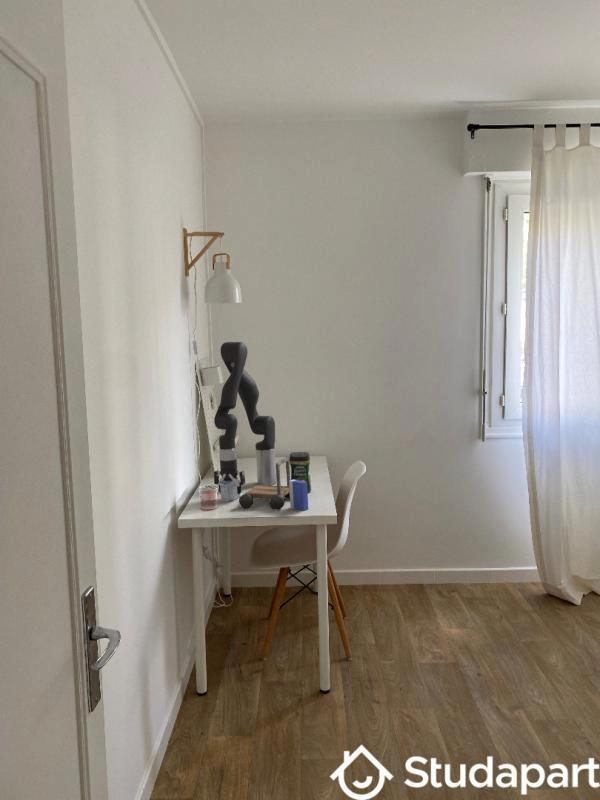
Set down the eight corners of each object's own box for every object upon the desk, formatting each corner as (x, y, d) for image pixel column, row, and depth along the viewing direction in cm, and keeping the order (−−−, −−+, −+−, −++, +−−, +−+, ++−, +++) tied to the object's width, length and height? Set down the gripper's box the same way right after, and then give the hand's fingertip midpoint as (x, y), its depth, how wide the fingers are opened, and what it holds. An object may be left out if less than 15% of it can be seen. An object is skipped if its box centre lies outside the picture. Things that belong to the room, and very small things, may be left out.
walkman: (308, 509, 270) (307, 480, 269) (303, 510, 268) (302, 482, 267) (294, 506, 275) (293, 478, 274) (290, 507, 273) (288, 479, 272)
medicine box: (233, 496, 297) (232, 477, 296) (240, 497, 294) (239, 478, 293) (221, 500, 291) (219, 481, 290) (228, 502, 288) (226, 482, 287)
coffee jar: (289, 494, 295) (287, 454, 293) (292, 489, 303) (289, 450, 301) (310, 494, 294) (308, 453, 291) (312, 489, 301) (310, 450, 299)
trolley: (255, 496, 294) (253, 455, 291) (297, 498, 287) (295, 455, 285) (239, 508, 277) (236, 463, 275) (283, 510, 270) (280, 464, 268)
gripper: (246, 456, 291) (248, 492, 293) (217, 456, 296) (219, 491, 298) (239, 460, 284) (241, 496, 286) (209, 459, 289) (212, 495, 291)
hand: (230, 493), depth 292 cm, fingers open, 8 cm apart
